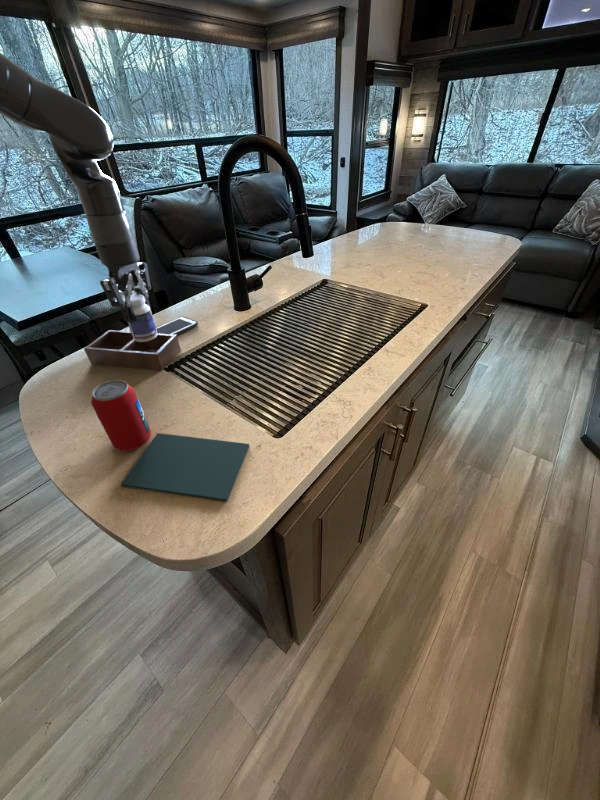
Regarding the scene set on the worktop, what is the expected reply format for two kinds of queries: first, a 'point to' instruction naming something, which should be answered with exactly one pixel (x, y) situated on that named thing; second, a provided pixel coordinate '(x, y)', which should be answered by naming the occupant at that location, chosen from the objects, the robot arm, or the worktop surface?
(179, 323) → the cell phone
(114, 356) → the divided tray
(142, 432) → the beverage can
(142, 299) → the pill bottle
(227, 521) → the worktop surface
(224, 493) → the mat
